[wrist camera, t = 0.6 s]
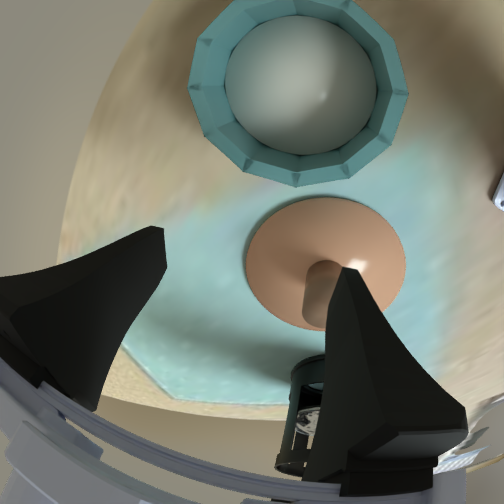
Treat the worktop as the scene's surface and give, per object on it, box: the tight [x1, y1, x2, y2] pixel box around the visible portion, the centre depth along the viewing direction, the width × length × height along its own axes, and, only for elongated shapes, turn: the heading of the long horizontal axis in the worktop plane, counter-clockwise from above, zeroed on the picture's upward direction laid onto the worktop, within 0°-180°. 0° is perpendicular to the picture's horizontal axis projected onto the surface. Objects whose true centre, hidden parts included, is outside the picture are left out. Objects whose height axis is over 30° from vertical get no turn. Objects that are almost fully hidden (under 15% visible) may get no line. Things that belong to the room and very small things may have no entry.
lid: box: [246, 197, 406, 331], centre depth 20 cm, size 13×13×5 cm
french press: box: [271, 355, 325, 504], centre depth 20 cm, size 12×9×23 cm
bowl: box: [187, 0, 409, 188], centre depth 13 cm, size 11×11×4 cm
